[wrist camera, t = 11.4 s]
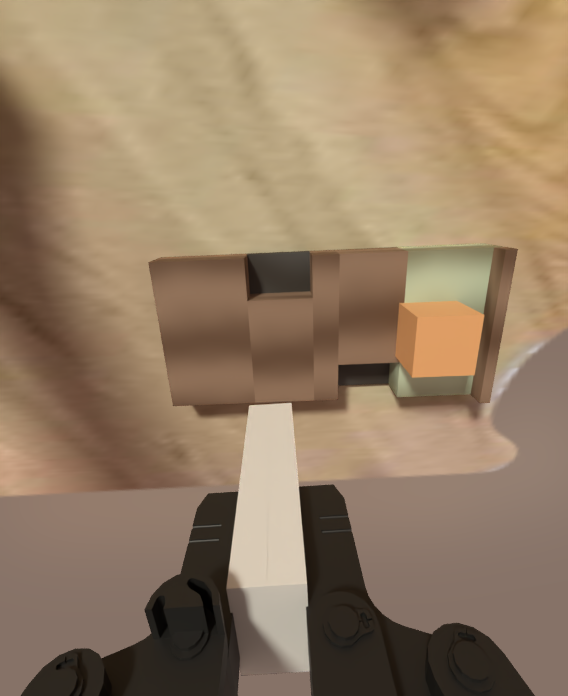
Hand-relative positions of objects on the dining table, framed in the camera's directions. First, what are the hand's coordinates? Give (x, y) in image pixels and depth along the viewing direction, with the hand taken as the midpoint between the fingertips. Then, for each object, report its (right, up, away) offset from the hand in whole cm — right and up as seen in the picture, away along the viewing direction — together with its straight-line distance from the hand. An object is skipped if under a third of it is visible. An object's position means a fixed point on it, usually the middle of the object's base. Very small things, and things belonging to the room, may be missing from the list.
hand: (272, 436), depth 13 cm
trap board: (+4, +6, +18) cm, 19 cm away
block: (+12, +5, +15) cm, 20 cm away
